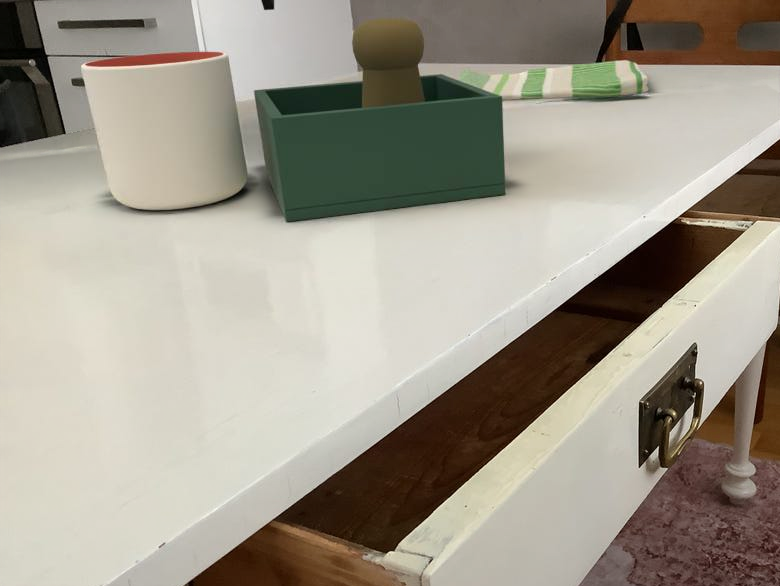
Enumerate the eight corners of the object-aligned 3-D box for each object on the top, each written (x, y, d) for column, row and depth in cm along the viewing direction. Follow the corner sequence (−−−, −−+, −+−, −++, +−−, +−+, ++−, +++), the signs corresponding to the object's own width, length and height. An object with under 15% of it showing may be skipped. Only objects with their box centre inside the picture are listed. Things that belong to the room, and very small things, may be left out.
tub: (266, 175, 70) (253, 90, 67) (447, 155, 74) (442, 73, 71) (286, 222, 57) (270, 118, 54) (505, 194, 61) (502, 96, 58)
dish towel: (463, 86, 115) (461, 65, 114) (636, 80, 113) (637, 58, 112) (448, 107, 99) (446, 82, 98) (650, 100, 97) (651, 75, 96)
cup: (276, 191, 65) (255, 53, 60) (156, 222, 58) (123, 69, 54) (205, 176, 71) (181, 49, 67) (89, 202, 64) (55, 64, 60)
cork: (349, 170, 66) (331, 20, 62) (418, 159, 69) (407, 14, 64) (378, 185, 62) (362, 23, 57) (452, 172, 64) (442, 16, 59)
